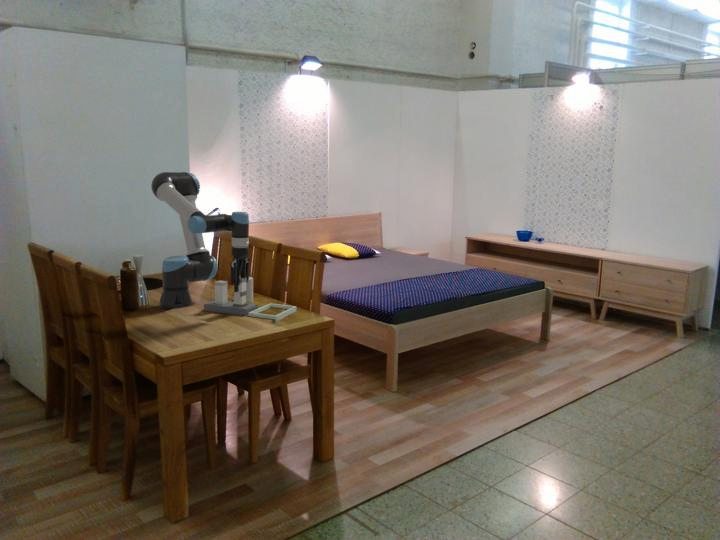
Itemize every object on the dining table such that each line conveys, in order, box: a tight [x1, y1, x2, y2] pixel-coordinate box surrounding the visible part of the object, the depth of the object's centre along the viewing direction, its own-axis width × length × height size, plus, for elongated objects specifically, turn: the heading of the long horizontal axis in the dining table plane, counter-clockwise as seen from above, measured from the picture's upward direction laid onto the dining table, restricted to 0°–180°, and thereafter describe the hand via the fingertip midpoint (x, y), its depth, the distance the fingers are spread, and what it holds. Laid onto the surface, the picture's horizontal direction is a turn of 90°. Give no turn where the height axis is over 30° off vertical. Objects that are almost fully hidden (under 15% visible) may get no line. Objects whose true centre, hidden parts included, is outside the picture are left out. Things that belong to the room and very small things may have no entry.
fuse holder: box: [203, 299, 258, 317], centre depth 278 cm, size 22×10×4 cm, turn 70°
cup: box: [246, 276, 254, 303], centre depth 298 cm, size 8×8×12 cm
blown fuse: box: [233, 277, 247, 307], centre depth 275 cm, size 4×4×13 cm
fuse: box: [214, 280, 229, 305], centre depth 279 cm, size 4×4×13 cm
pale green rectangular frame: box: [247, 302, 297, 323], centre depth 276 cm, size 14×20×2 cm
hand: (240, 297), depth 275 cm, fingers closed on blown fuse, 4 cm apart
